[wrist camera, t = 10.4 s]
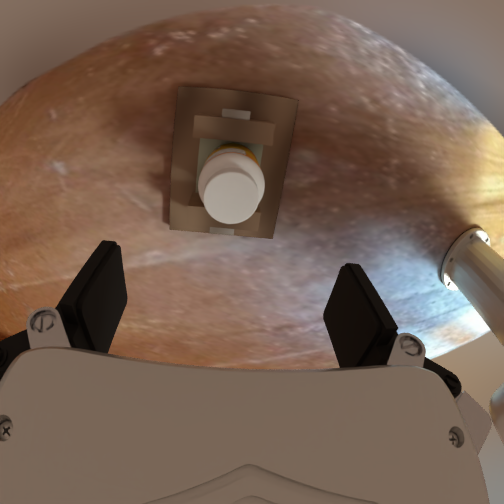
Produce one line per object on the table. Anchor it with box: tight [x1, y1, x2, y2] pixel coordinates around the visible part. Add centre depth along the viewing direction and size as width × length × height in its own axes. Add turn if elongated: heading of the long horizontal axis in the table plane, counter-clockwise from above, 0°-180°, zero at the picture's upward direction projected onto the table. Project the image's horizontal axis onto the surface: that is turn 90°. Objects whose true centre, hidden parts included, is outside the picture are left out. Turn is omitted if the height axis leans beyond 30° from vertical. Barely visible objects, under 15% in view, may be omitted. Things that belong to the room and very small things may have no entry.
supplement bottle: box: [198, 143, 265, 224], centre depth 23 cm, size 5×5×10 cm
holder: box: [170, 87, 299, 239], centre depth 26 cm, size 12×16×5 cm
